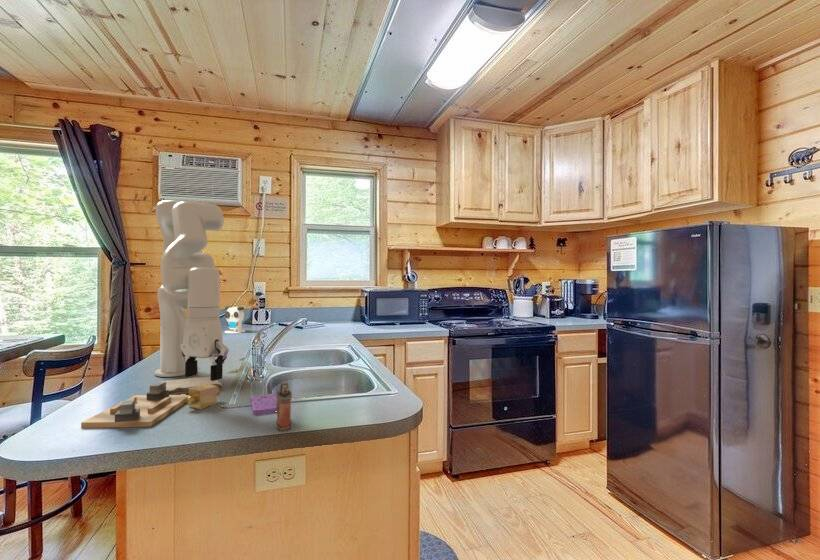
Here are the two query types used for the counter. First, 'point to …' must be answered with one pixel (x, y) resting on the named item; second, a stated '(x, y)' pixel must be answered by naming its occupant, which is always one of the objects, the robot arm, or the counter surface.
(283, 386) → the amber flat bottle
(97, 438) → the counter surface
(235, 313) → the panda figurine
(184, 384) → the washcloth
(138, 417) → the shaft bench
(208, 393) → the coupler
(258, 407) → the sponges
